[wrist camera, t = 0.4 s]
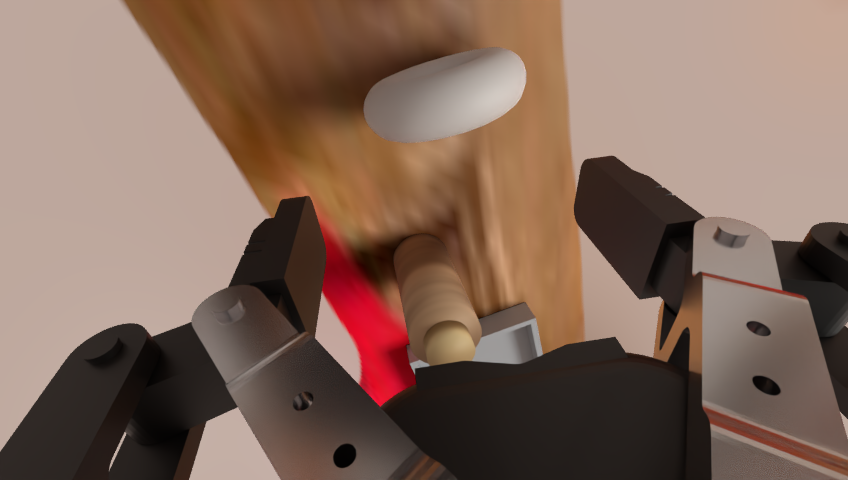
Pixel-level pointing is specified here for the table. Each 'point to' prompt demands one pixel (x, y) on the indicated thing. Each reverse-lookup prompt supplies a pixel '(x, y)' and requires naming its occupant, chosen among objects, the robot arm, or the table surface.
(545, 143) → the table surface
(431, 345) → the pepper mill
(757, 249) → the robot arm
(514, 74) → the donut
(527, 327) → the tray
